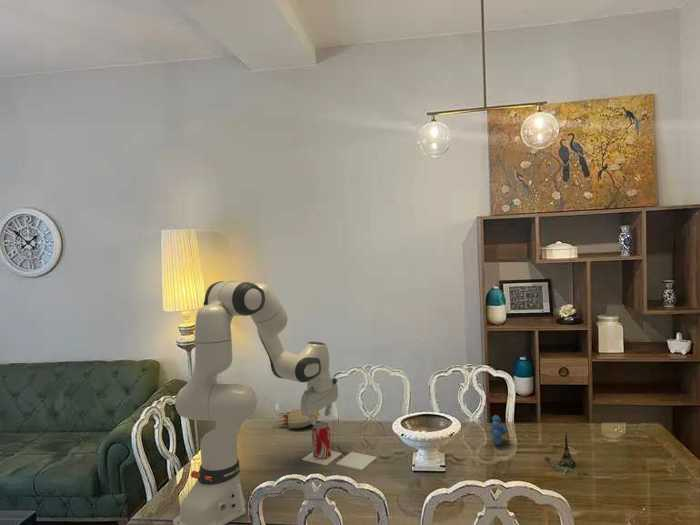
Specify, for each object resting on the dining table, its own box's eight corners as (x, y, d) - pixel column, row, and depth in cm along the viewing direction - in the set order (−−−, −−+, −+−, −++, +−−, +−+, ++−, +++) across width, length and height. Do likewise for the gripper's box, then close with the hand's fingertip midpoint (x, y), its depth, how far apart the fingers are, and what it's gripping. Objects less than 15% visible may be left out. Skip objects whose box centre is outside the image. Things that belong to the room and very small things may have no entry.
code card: (326, 465, 185) (326, 464, 185) (301, 459, 191) (301, 459, 190) (342, 453, 194) (342, 453, 194) (318, 448, 200) (318, 448, 200)
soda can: (328, 460, 188) (327, 428, 188) (310, 459, 190) (309, 428, 189) (333, 452, 195) (331, 421, 195) (315, 451, 197) (314, 421, 196)
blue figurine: (509, 452, 189) (508, 420, 188) (490, 451, 191) (489, 419, 190) (508, 439, 200) (507, 410, 199) (490, 438, 202) (489, 409, 201)
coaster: (362, 470, 179) (362, 469, 179) (336, 464, 185) (336, 463, 185) (376, 458, 189) (376, 457, 189) (351, 453, 194) (351, 451, 194)
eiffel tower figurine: (541, 458, 184) (540, 422, 183) (568, 456, 184) (567, 420, 184) (561, 477, 169) (560, 438, 168) (591, 475, 169) (590, 436, 169)
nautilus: (269, 434, 219) (276, 423, 234) (318, 430, 218) (322, 419, 233) (267, 416, 219) (274, 406, 234) (316, 411, 218) (320, 402, 233)
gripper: (309, 393, 181) (311, 430, 182) (339, 377, 198) (341, 411, 199) (295, 391, 184) (297, 428, 185) (326, 375, 201) (328, 409, 202)
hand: (320, 419), depth 192 cm, fingers open, 8 cm apart
